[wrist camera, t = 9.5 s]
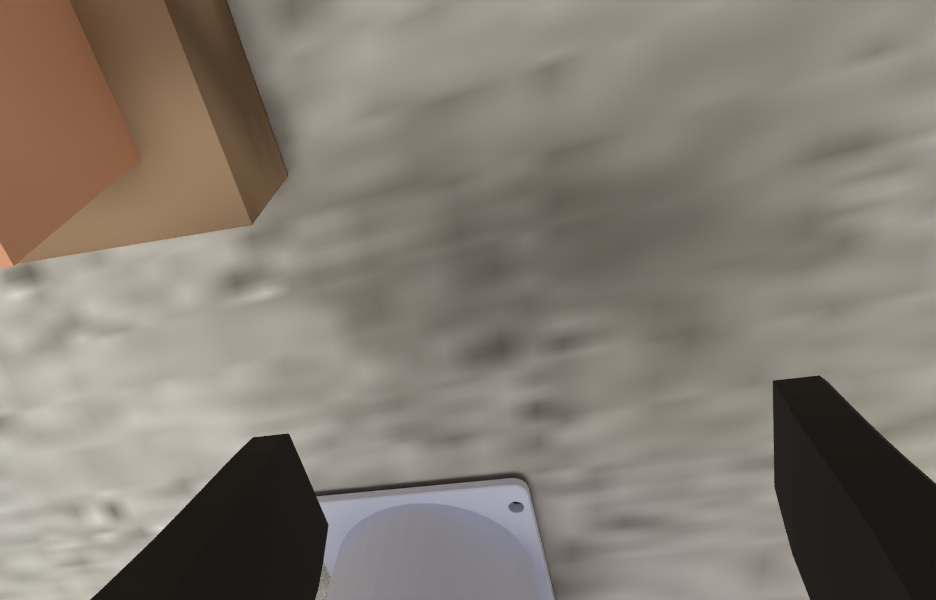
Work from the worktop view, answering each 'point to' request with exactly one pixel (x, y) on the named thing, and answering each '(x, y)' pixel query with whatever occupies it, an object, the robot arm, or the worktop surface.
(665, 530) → the worktop surface
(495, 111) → the worktop surface
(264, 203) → the walnut block
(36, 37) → the terracotta cube
